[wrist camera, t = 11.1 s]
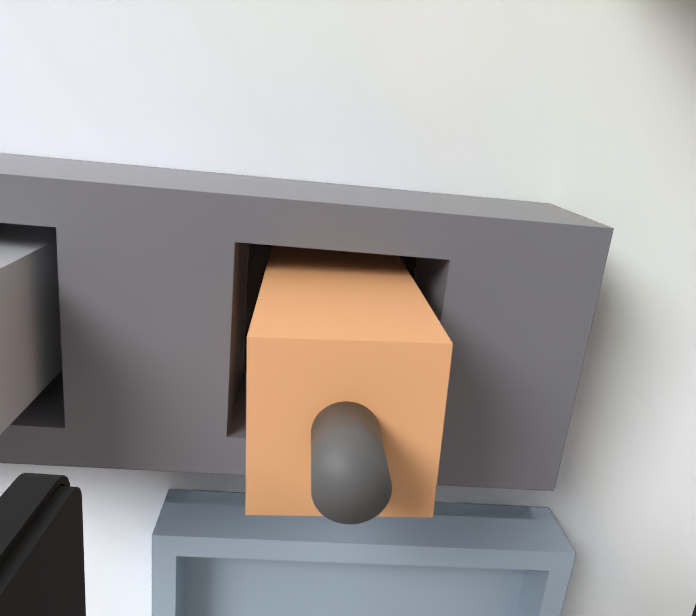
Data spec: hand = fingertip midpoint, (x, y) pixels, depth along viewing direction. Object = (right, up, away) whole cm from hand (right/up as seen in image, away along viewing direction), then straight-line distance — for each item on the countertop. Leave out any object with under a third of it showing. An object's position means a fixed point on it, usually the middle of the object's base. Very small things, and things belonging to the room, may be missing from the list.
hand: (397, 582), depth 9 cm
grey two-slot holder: (-6, +5, +12) cm, 14 cm away
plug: (-1, +4, +12) cm, 13 cm away
